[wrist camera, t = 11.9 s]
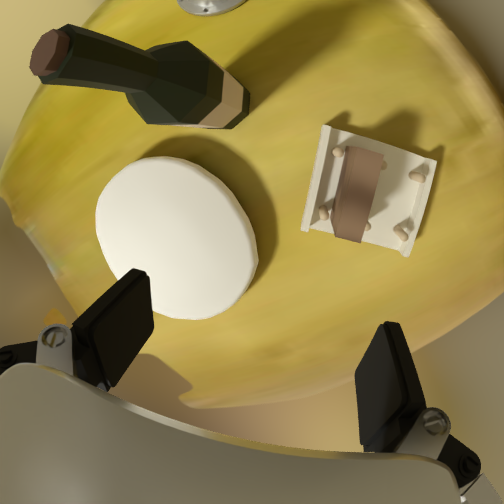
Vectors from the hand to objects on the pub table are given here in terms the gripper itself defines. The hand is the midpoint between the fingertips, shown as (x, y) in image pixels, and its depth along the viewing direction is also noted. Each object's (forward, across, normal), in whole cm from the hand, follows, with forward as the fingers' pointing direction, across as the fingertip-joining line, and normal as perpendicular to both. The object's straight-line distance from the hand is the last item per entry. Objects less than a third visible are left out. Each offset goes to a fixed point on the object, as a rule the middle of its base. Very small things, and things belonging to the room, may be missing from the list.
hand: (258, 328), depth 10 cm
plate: (+30, +17, +11) cm, 36 cm away
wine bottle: (+30, +12, -10) cm, 34 cm away
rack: (+30, -10, -2) cm, 31 cm away
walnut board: (+28, -7, -2) cm, 29 cm away
